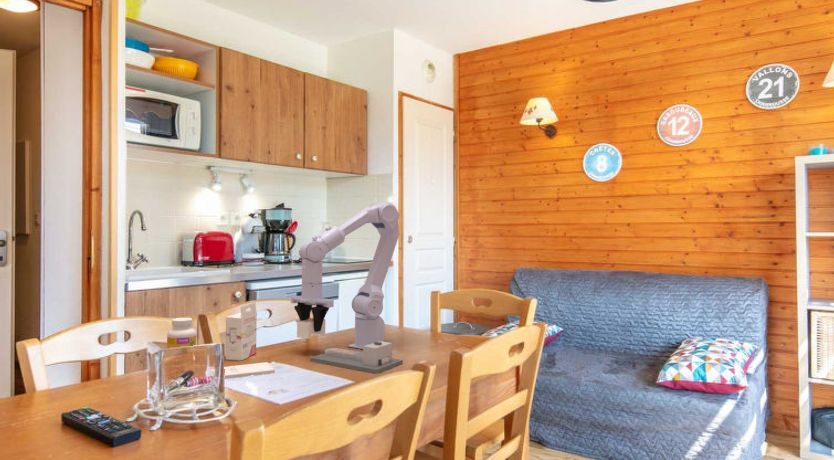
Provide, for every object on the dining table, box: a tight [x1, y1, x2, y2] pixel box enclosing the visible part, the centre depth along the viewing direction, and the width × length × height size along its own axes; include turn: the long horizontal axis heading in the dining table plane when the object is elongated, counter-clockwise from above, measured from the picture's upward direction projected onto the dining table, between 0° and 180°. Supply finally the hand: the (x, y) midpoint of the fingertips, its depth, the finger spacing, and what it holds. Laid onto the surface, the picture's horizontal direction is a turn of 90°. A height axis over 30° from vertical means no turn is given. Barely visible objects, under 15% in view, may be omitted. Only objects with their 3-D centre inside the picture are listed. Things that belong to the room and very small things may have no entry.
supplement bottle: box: [166, 317, 197, 348], centre depth 136 cm, size 7×7×13 cm
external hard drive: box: [223, 361, 276, 380], centre depth 135 cm, size 2×8×12 cm
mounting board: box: [309, 352, 404, 375], centre depth 146 cm, size 12×22×1 cm, turn 59°
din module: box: [296, 317, 326, 340], centre depth 156 cm, size 8×4×5 cm, turn 149°
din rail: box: [324, 347, 389, 365], centre depth 146 cm, size 4×19×2 cm, turn 59°
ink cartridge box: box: [225, 302, 258, 361], centre depth 150 cm, size 9×5×15 cm, turn 168°
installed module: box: [362, 341, 393, 367], centre depth 143 cm, size 8×4×5 cm, turn 149°
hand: (311, 330), depth 156 cm, fingers closed on din module, 4 cm apart
